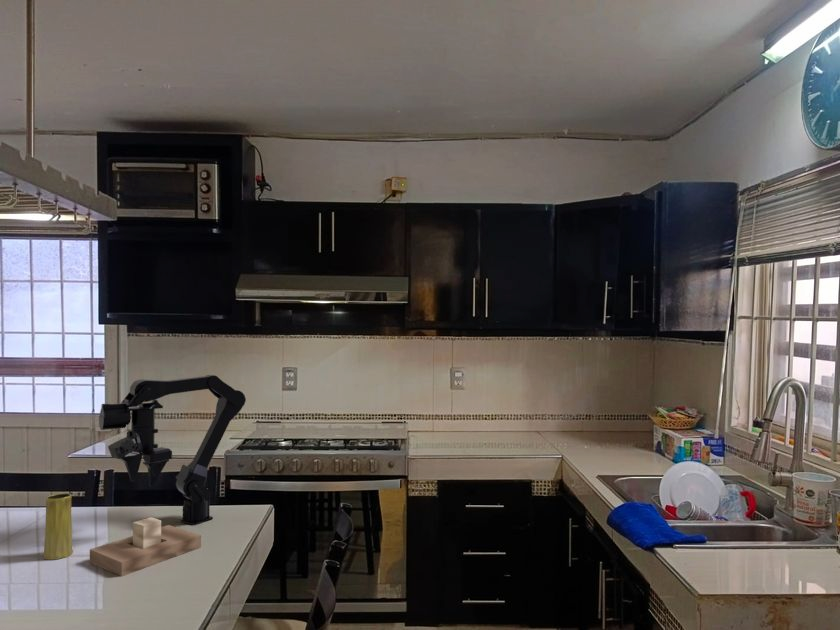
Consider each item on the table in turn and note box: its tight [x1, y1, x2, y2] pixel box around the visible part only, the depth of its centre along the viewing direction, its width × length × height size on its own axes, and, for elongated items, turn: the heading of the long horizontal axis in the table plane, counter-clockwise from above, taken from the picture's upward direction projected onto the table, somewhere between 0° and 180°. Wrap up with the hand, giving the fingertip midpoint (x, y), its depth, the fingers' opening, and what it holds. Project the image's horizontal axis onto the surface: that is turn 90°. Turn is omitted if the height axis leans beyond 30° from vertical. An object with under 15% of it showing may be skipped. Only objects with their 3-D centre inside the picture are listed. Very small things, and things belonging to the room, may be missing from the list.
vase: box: [42, 492, 74, 561], centre depth 137 cm, size 6×6×14 cm
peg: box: [132, 516, 162, 549], centre depth 137 cm, size 4×4×8 cm
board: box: [89, 524, 202, 577], centre depth 137 cm, size 20×14×3 cm
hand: (142, 483), depth 153 cm, fingers open, 9 cm apart
